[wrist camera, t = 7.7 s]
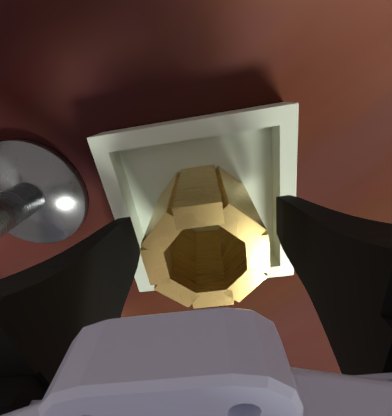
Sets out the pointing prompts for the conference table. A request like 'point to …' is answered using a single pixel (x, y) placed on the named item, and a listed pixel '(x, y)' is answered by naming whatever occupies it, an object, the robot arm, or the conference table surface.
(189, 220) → the collar
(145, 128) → the tray
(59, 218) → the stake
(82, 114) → the conference table surface
